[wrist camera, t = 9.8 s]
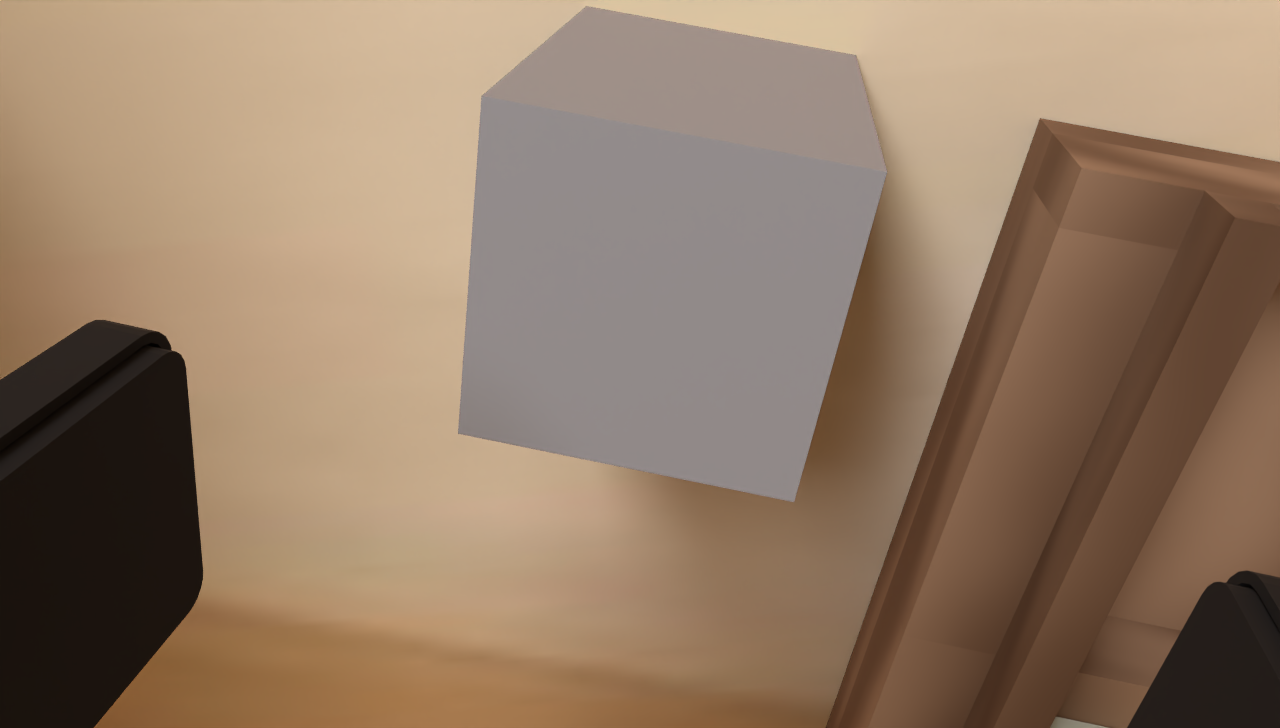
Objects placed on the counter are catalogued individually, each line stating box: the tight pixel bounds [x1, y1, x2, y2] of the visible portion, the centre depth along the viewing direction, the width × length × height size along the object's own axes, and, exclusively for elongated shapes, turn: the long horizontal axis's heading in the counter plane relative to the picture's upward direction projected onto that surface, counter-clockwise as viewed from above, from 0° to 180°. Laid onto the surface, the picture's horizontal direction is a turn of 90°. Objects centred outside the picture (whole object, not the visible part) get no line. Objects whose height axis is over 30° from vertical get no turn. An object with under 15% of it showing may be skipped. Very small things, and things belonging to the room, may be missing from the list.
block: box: [458, 6, 887, 502], centre depth 16 cm, size 5×5×7 cm
